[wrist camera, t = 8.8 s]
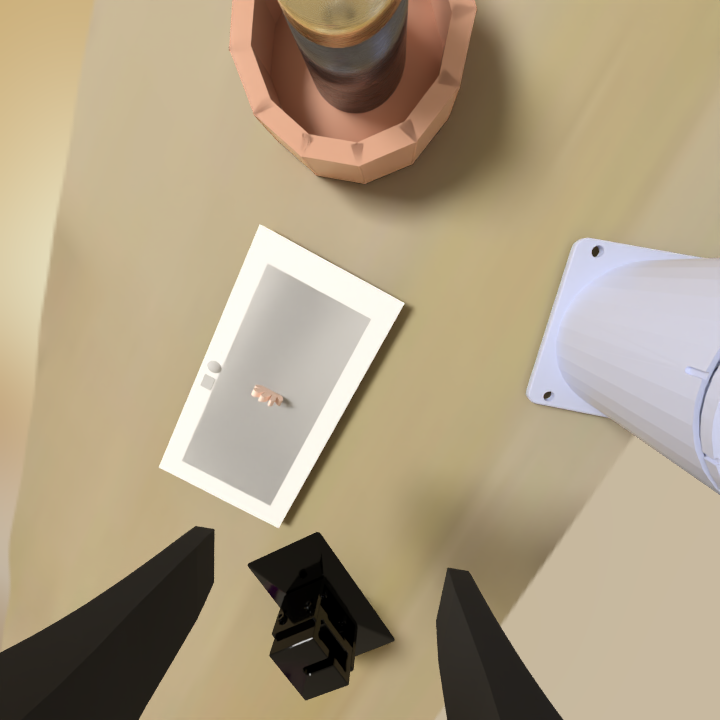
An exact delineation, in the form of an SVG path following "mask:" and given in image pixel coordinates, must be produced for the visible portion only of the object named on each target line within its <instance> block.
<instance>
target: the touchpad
mask: <svg viewBox="0 0 720 720" xmlns="http://www.w3.org/2000/svg"><path fill="white" fill-rule="evenodd" d="M404 304H405V303H403V302H402V301H400V300H398V299H396V298H394V297H392V296H391V295H389V294H387V293H385V292H383V291H381V290H380V289H378V288H376V287H374V286H372V285H370V284H369V283H367V282H365V281H363V280H361V279H359V278H358V277H356V276H354V275H352V274H350V273H348V272H347V271H345V270H343V269H341V268H339V267H337V266H336V265H334V264H332V263H330V262H328V261H326V260H325V259H323V258H321V257H319V256H317V255H316V254H314V253H312V252H310V251H308V250H306V249H305V248H303V247H301V246H299V245H297V244H295V243H294V242H292V241H290V240H288V239H286V238H284V237H283V236H281V235H279V234H277V233H275V232H273V231H272V230H270V229H268V228H266V227H264V226H262V225H261V224H260V225H259V227H258V230H257V232H256V235H255V237H254V239H253V242H252V244H251V247H250V249H249V251H248V254H247V256H246V259H245V261H244V264H243V266H242V268H241V271H240V273H239V276H238V278H237V280H236V283H235V285H234V288H233V290H232V292H231V295H230V297H229V300H228V302H227V304H226V307H225V309H224V312H223V314H222V317H221V319H220V321H219V324H218V326H217V329H216V331H215V333H214V336H213V338H212V341H211V343H210V345H209V348H208V350H207V353H206V355H205V357H204V360H203V362H202V365H201V367H200V369H199V372H198V374H197V377H196V379H195V382H194V384H193V386H192V389H191V391H190V394H189V396H188V398H187V401H186V403H185V406H184V408H183V410H182V413H181V415H180V418H179V420H178V422H177V425H176V427H175V430H174V432H173V435H172V437H171V439H170V442H169V444H168V447H167V449H166V451H165V454H164V456H163V459H162V461H161V463H160V466H159V468H161V469H163V470H165V471H167V472H169V473H171V474H173V475H175V476H177V477H179V478H181V479H183V480H185V481H187V482H189V483H191V484H193V485H195V486H197V487H198V488H200V489H202V490H204V491H206V492H208V493H210V494H212V495H214V496H216V497H218V498H220V499H222V500H224V501H226V502H228V503H230V504H232V505H234V506H236V507H238V508H240V509H242V510H244V511H246V512H248V513H250V514H252V515H254V516H255V517H257V518H259V519H261V520H263V521H265V522H267V523H269V524H271V525H273V526H275V527H277V528H279V527H280V525H281V523H282V521H283V519H284V518H285V516H286V514H287V512H288V511H289V509H290V507H291V505H292V503H293V502H294V500H295V498H296V496H297V494H298V493H299V491H300V489H301V487H302V486H303V484H304V482H305V480H306V478H307V477H308V475H309V473H310V471H311V469H312V468H313V466H314V464H315V462H316V461H317V459H318V457H319V455H320V453H321V452H322V450H323V448H324V446H325V444H326V443H327V441H328V439H329V437H330V436H331V434H332V432H333V430H334V428H335V427H336V425H337V423H338V421H339V420H340V418H341V416H342V414H343V412H344V411H345V409H346V407H347V405H348V403H349V402H350V400H351V398H352V396H353V395H354V393H355V391H356V389H357V387H358V386H359V384H360V382H361V380H362V378H363V377H364V375H365V373H366V371H367V370H368V368H369V366H370V364H371V362H372V361H373V359H374V357H375V355H376V353H377V352H378V350H379V348H380V346H381V345H382V343H383V341H384V339H385V337H386V336H387V334H388V332H389V330H390V328H391V327H392V325H393V323H394V321H395V320H396V318H397V316H398V314H399V312H400V311H401V309H402V307H403V305H404Z"/></svg>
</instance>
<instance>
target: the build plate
mask: <svg viewBox="0 0 720 720" xmlns="http://www.w3.org/2000/svg"><path fill="white" fill-rule="evenodd" d="M248 567H249V568H250V569H251V571H252V572H253V573H254V575H255V576H256V577H257V578H258V580H259V581H260V582H261V584H262V585H263V586H264V588H265V589H266V590H267V591H268V593H269V594H270V595H271V597H272V598H273V599H274V600H275V602H276V603H277V604H278V606H279V607H280V611H279V614H278V616H277V620H276V623H275V626H274V629H273V632H272V635H273V637H274V638H275V639H274V642H273V645H272V648H271V651H270V655H269V656H270V657H271V658H272V660H273V661H274V662H275V663H276V665H277V666H278V667H279V668H280V670H281V671H282V672H283V673H284V675H285V676H286V677H287V678H288V680H289V681H290V682H291V683H292V685H293V686H294V687H295V688H296V690H297V691H298V692H299V693H300V694H301V696H302V697H303V698H304V699H305V701H306V700H308V699H311V698H314V697H317V696H319V695H322V694H325V693H328V692H330V691H333V690H336V689H339V688H341V687H344V686H347V685H349V677H350V672H351V671H353V669H354V660H355V656H357V655H360V654H362V653H365V652H367V651H370V650H372V649H375V648H378V647H380V646H383V645H385V644H388V643H391V642H393V641H394V640H395V639H394V637H393V636H392V634H391V633H390V632H389V630H388V629H387V627H386V626H385V624H384V623H383V622H382V620H381V619H380V617H379V616H378V615H377V613H376V612H375V610H374V609H373V607H372V606H371V605H370V603H369V602H368V600H367V599H366V598H365V596H364V595H363V593H362V592H361V590H360V589H359V588H358V586H357V585H356V583H355V582H354V580H353V579H352V578H351V576H350V575H349V573H348V572H347V571H346V569H345V568H344V566H343V565H342V563H341V562H340V561H339V559H338V558H337V556H336V555H335V553H334V552H333V551H332V549H331V548H330V546H329V545H328V544H327V542H326V541H325V539H324V538H323V536H322V535H321V534H320V533H319V532H316V533H314V534H311V535H309V536H307V537H305V538H303V539H301V540H298V541H296V542H294V543H292V544H290V545H288V546H285V547H283V548H281V549H279V550H277V551H275V552H272V553H270V554H268V555H266V556H264V557H261V558H259V559H257V560H255V561H253V562H251V563H249V564H248Z"/></svg>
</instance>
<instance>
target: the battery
mask: <svg viewBox="0 0 720 720" xmlns="http://www.w3.org/2000/svg"><path fill="white" fill-rule="evenodd" d="M277 1H278V3H279V5H280V7H281V10H282V12H283V14H284V16H285V19H286V21H287V23H288V25H289V28H290V30H291V32H292V34H293V37H294V39H295V41H296V43H297V45H298V48H299V50H300V52H301V54H302V57H303V59H304V61H305V63H306V66H307V68H308V70H309V72H310V75H311V77H312V79H313V81H314V84H315V86H316V88H317V90H318V91H319V93H320V94H321V96H322V97H323V98H324V99H325V100H326V101H327V102H328V103H329V104H330V105H332V106H333V107H335V108H336V109H338V110H340V111H343V112H347V113H365V112H368V111H371V110H373V109H375V108H377V107H379V106H380V105H382V104H383V103H384V102H386V101H387V100H388V99H389V98H390V96H391V95H392V94H393V93H394V91H395V90H396V88H397V86H398V85H399V83H400V80H401V78H402V75H403V72H404V68H405V61H406V42H407V20H408V0H277Z"/></svg>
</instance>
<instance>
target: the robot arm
mask: <svg viewBox="0 0 720 720" xmlns="http://www.w3.org/2000/svg"><path fill="white" fill-rule="evenodd" d="M595 246H597V247H598V248H599V254H598V255H597V256H596V257H593V255H592V254H591V253H592V249H593V247H595ZM550 391H551V396H550V397H549V398H547V399H544V398H543V396H544V394H545V393H546V392H550ZM526 395H527V398H528V399H529V400H530V401H531V402H533V403H536V404H541V405H546V406H551V407H556V408H561V409H566V410H571V411H577V412H582V413H587V414H592V415H597V416H602V417H607V418H610V419H612V420H613V421H614V422H616V423H617V424H619V425H620V426H622V427H623V428H624V429H626V430H627V431H629V432H630V433H632V434H633V435H635V436H636V437H637V438H639V439H640V440H642V441H643V442H645V443H646V444H648V445H649V446H650V447H652V448H653V449H655V450H656V451H658V452H659V453H661V454H662V455H663V456H665V457H666V458H668V459H669V460H671V461H672V462H673V463H675V464H677V465H678V466H679V467H681V468H682V469H684V470H685V471H686V472H688V473H689V474H691V475H692V476H694V477H695V478H696V479H698V480H699V481H701V482H702V483H704V484H705V485H707V486H708V487H709V488H711V489H712V490H714V491H715V492H717V493H718V494H719V495H720V258H701V257H695V256H689V255H684V254H678V253H672V252H667V251H661V250H655V249H650V248H644V247H638V246H633V245H627V244H621V243H616V242H610V241H604V240H599V239H593V238H582V239H580V240H577V241H576V242H575V243H574V244H573V246H572V248H571V251H570V254H569V257H568V260H567V264H566V267H565V270H564V273H563V276H562V279H561V283H560V286H559V289H558V292H557V295H556V298H555V301H554V305H553V308H552V311H551V314H550V317H549V320H548V323H547V327H546V330H545V333H544V336H543V339H542V342H541V346H540V349H539V352H538V355H537V358H536V361H535V364H534V368H533V371H532V374H531V377H530V380H529V383H528V387H527V390H526ZM213 583H214V529H210V528H204V527H198V526H195V527H194V528H192V529H191V530H190V531H188V532H187V533H185V534H184V535H183V536H181V537H180V538H179V539H177V540H176V541H175V542H173V543H172V544H171V545H169V546H168V547H167V548H165V549H164V550H163V551H161V552H160V553H159V554H157V555H156V556H155V557H153V558H152V559H150V560H149V561H148V562H146V563H145V564H144V565H142V566H141V567H139V568H138V569H137V570H135V571H134V572H132V573H131V574H130V575H128V576H127V577H125V578H124V579H123V580H121V581H120V582H118V583H117V584H115V585H114V586H112V587H111V588H109V589H108V590H106V591H105V592H103V593H102V594H100V595H99V596H97V597H96V598H94V599H93V600H91V601H90V602H88V603H87V604H85V605H84V606H82V607H80V608H79V609H77V610H76V611H74V612H72V613H71V614H69V615H67V616H66V617H64V618H62V619H61V620H59V621H57V622H55V623H54V624H52V625H50V626H49V627H47V628H45V629H43V630H42V631H40V632H38V633H36V634H35V635H33V636H31V637H29V638H27V639H25V640H23V641H22V642H20V643H18V644H16V645H14V646H12V647H10V648H8V649H6V650H4V651H3V652H1V653H0V720H139V718H140V716H141V714H142V712H143V711H144V709H145V707H146V705H147V704H148V702H149V700H150V699H151V697H152V695H153V694H154V692H155V690H156V688H157V687H158V685H159V683H160V682H161V680H162V678H163V677H164V675H165V673H166V672H167V670H168V668H169V666H170V665H171V663H172V661H173V660H174V658H175V656H176V655H177V653H178V651H179V650H180V648H181V646H182V644H183V643H184V641H185V639H186V637H187V636H188V634H189V632H190V631H191V629H192V627H193V625H194V624H195V622H196V620H197V618H198V616H199V614H200V612H201V610H202V608H203V606H204V603H205V601H206V599H207V597H208V595H209V592H210V590H211V588H212V586H213ZM436 628H437V646H438V661H439V669H440V676H441V682H442V689H443V695H444V702H445V708H446V715H447V720H563V719H562V717H561V716H560V715H559V714H558V712H557V711H556V709H555V708H554V707H553V705H552V704H551V703H550V701H549V700H548V698H547V697H546V695H545V694H544V693H543V691H542V690H541V688H540V687H539V686H538V684H537V683H536V681H535V680H534V678H533V677H532V675H531V674H530V672H529V671H528V669H527V668H526V667H525V665H524V663H523V662H522V660H521V659H520V657H519V656H518V654H517V653H516V651H515V649H514V648H513V646H512V645H511V643H510V641H509V640H508V638H507V637H506V635H505V633H504V632H503V630H502V628H501V627H500V625H499V623H498V622H497V620H496V618H495V617H494V615H493V613H492V612H491V610H490V608H489V606H488V605H487V603H486V601H485V599H484V598H483V596H482V594H481V592H480V590H479V589H478V587H477V585H476V583H475V581H474V579H473V578H472V576H471V574H470V573H469V571H465V570H458V569H452V568H447V573H446V577H445V582H444V587H443V591H442V596H441V601H440V605H439V610H438V615H437V619H436Z"/></svg>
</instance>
